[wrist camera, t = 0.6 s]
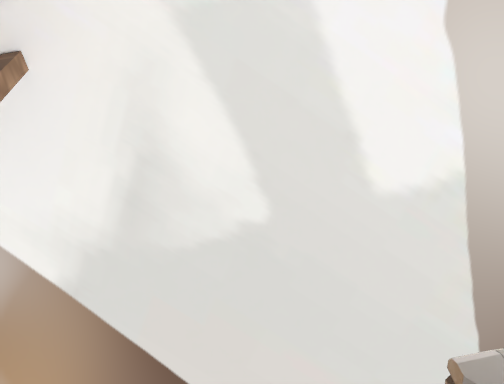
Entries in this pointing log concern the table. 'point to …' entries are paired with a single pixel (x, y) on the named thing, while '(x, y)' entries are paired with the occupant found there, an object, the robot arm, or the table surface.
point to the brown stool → (11, 71)
